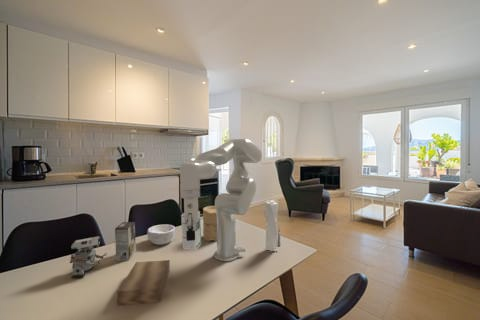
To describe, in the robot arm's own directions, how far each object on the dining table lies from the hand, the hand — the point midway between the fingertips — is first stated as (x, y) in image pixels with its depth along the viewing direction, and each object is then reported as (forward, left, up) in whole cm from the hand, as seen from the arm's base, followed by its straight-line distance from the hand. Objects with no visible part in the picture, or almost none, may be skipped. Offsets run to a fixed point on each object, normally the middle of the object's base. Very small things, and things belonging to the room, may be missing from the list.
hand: (191, 235), depth 91 cm
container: (-10, -44, -19) cm, 49 cm away
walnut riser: (+17, +1, -19) cm, 26 cm away
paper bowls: (+20, -42, -19) cm, 50 cm away
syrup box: (0, 0, -5) cm, 5 cm away
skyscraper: (-41, -24, -19) cm, 51 cm away
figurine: (+45, -13, -19) cm, 51 cm away
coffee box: (+34, -26, -19) cm, 47 cm away
